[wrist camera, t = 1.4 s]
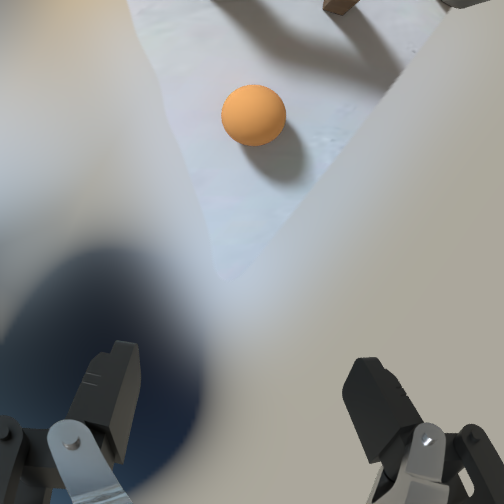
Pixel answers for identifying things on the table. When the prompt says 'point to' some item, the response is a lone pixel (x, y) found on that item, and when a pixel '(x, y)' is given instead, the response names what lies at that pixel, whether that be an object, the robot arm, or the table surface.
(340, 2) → the bridge
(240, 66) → the table surface
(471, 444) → the robot arm
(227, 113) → the ball
